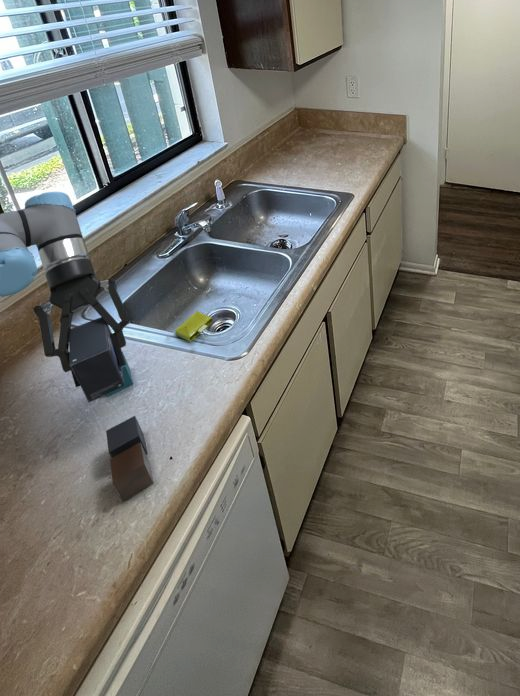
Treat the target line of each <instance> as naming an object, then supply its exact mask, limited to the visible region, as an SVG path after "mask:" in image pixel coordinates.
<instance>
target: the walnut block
mask: <svg viewBox="0 0 520 696" xmlns="http://www.w3.org/2000/svg"><path fill="white" fill-rule="evenodd" d="M109 465H110V472H111V480H112V485H113V488H114V489H115V490H116V492H117V494H118V496H119V498H120V500H121V501H122V503H125V502H126V501H128V500H130V499H131V498H133V497H135V496H136V495H138V494H139V493H141V492H143V491H144V490H146V489H148V488H149V487H150V486H153V485H154V477H153V473H152V469H151V463H150V460H149V458H148V454H147V455H146V453H145V451H144V449H143V447H142V445H141V443H138V444H136V445H135V446H133V447H131V448H129V449H127V450H126V451H124V452H122V453H120V454H118V455H117V456H115V457H113V458H111V457H110V459H109Z"/></svg>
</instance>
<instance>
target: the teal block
mask: <svg viewBox="0 0 520 696" xmlns="http://www.w3.org/2000/svg"><path fill="white" fill-rule="evenodd" d="M122 354H123V357H124V360H125V363H126V365H124V366H122V370H123V378H124V386H123V387H121V388H119V389H117V390H115V391H112V392H110V393H108V394H106V396H107V397H110V396H112V395H114V394H116V393H119V392H120V391H123V390H125V389H128V387H131V386H133V385H134V381H133V376H132V372H131V368H130V366H129V363H128V361H127V359H126V356H125V354H124V352H123V351H122Z"/></svg>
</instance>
